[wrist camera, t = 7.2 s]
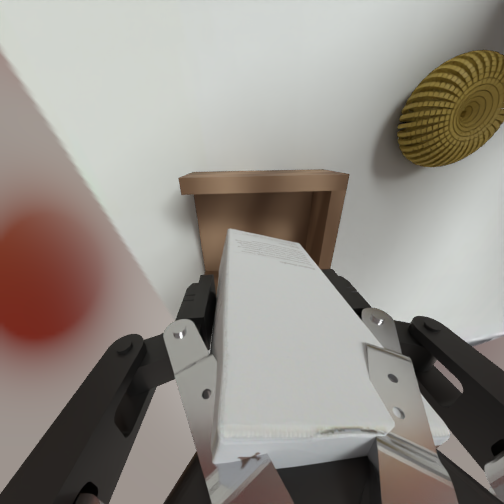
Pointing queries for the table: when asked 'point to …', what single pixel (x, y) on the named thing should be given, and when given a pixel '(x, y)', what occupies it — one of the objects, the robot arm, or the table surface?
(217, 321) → the skincare box
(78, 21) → the table surface
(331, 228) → the u rest
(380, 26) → the table surface
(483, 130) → the sculpture
